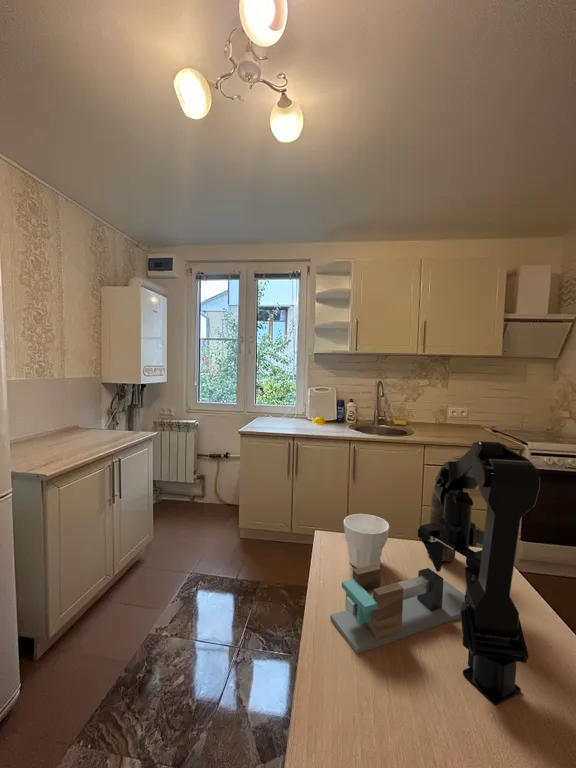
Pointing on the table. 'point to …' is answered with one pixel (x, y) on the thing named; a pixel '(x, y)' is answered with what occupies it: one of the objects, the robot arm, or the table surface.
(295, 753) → the table surface
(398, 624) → the bearing block
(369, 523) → the cup
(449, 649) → the table surface
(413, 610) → the base board
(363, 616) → the spacer
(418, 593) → the shaft
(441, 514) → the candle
